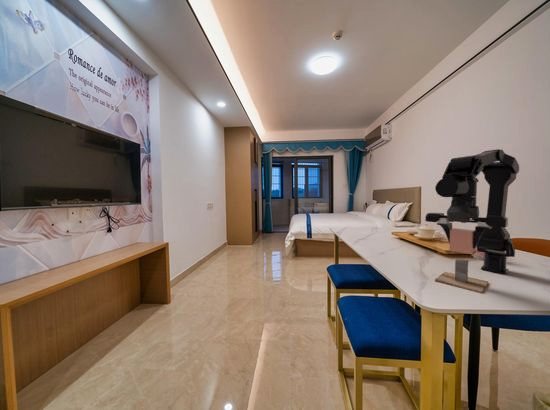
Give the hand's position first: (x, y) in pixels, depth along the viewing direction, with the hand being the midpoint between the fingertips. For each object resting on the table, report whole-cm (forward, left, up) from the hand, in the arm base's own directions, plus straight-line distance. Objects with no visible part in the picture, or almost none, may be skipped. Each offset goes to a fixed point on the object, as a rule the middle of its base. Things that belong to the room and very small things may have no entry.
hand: (462, 246), depth 67 cm
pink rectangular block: (0, 0, -1) cm, 1 cm away
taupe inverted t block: (0, 0, -11) cm, 11 cm away
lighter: (-39, -1, -12) cm, 41 cm away
